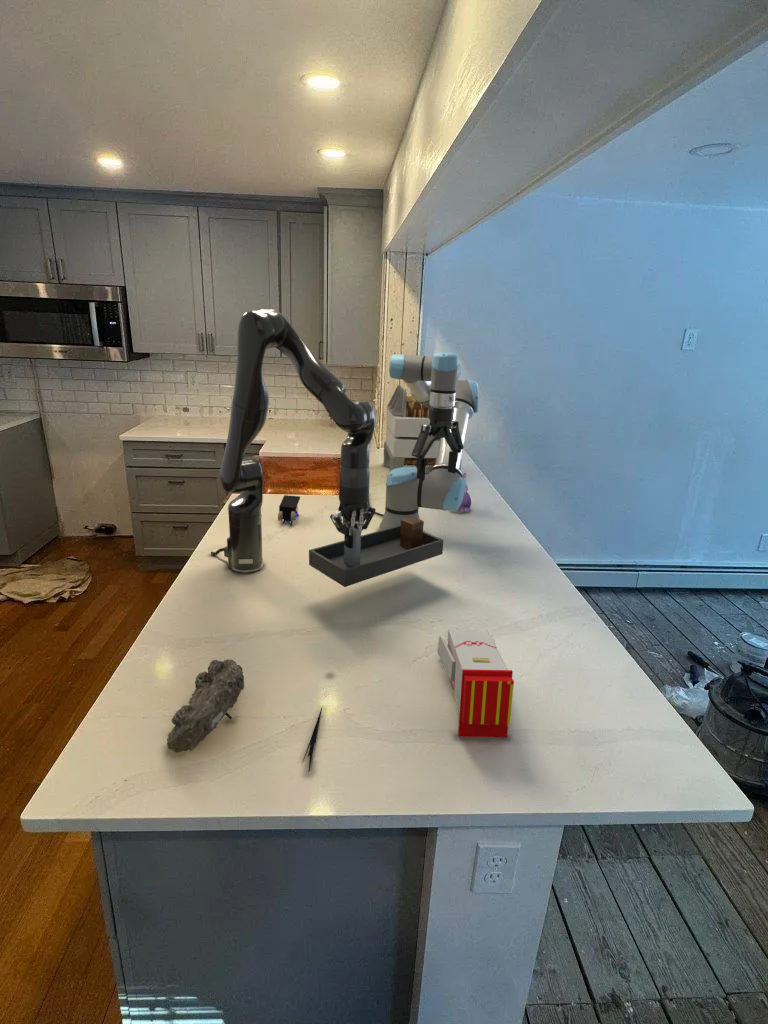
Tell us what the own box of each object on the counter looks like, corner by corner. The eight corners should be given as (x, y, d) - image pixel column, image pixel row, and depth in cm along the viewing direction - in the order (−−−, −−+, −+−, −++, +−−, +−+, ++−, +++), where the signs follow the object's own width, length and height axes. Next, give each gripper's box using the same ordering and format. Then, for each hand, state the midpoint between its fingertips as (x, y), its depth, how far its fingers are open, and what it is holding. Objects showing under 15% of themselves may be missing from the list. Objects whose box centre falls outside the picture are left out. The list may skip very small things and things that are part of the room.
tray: (308, 564, 149) (308, 525, 145) (404, 536, 170) (407, 502, 167) (344, 587, 138) (345, 545, 134) (442, 554, 159) (445, 517, 156)
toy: (488, 613, 130) (523, 677, 101) (484, 667, 133) (517, 744, 104) (435, 612, 130) (455, 676, 101) (432, 666, 133) (451, 743, 103)
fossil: (192, 660, 117) (244, 628, 112) (224, 691, 120) (276, 661, 115) (142, 746, 98) (202, 712, 93) (182, 779, 101) (242, 748, 96)
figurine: (457, 515, 220) (461, 478, 215) (443, 507, 229) (446, 471, 224) (477, 512, 224) (481, 475, 219) (462, 504, 233) (466, 469, 228)
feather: (331, 679, 122) (336, 673, 122) (307, 777, 96) (313, 769, 95) (324, 675, 122) (329, 669, 121) (298, 772, 95) (304, 764, 95)
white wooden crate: (382, 463, 289) (386, 382, 275) (445, 464, 293) (451, 384, 279) (390, 482, 257) (394, 392, 243) (460, 483, 261) (468, 394, 247)
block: (410, 551, 159) (412, 524, 156) (399, 545, 162) (401, 519, 159) (421, 547, 161) (423, 521, 159) (411, 542, 165) (412, 516, 162)
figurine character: (296, 530, 202) (301, 512, 215) (295, 511, 198) (300, 494, 212) (277, 530, 201) (283, 511, 215) (276, 511, 198) (282, 493, 211)
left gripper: (341, 490, 134) (339, 557, 140) (384, 481, 142) (381, 545, 148) (322, 482, 139) (322, 547, 145) (366, 474, 148) (363, 536, 154)
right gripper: (420, 412, 157) (415, 485, 165) (479, 405, 173) (472, 472, 180) (402, 408, 163) (398, 478, 170) (460, 401, 178) (454, 467, 185)
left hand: (352, 546), depth 147 cm, fingers closed on tray, 1 cm apart
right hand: (436, 475), depth 175 cm, fingers open, 13 cm apart
